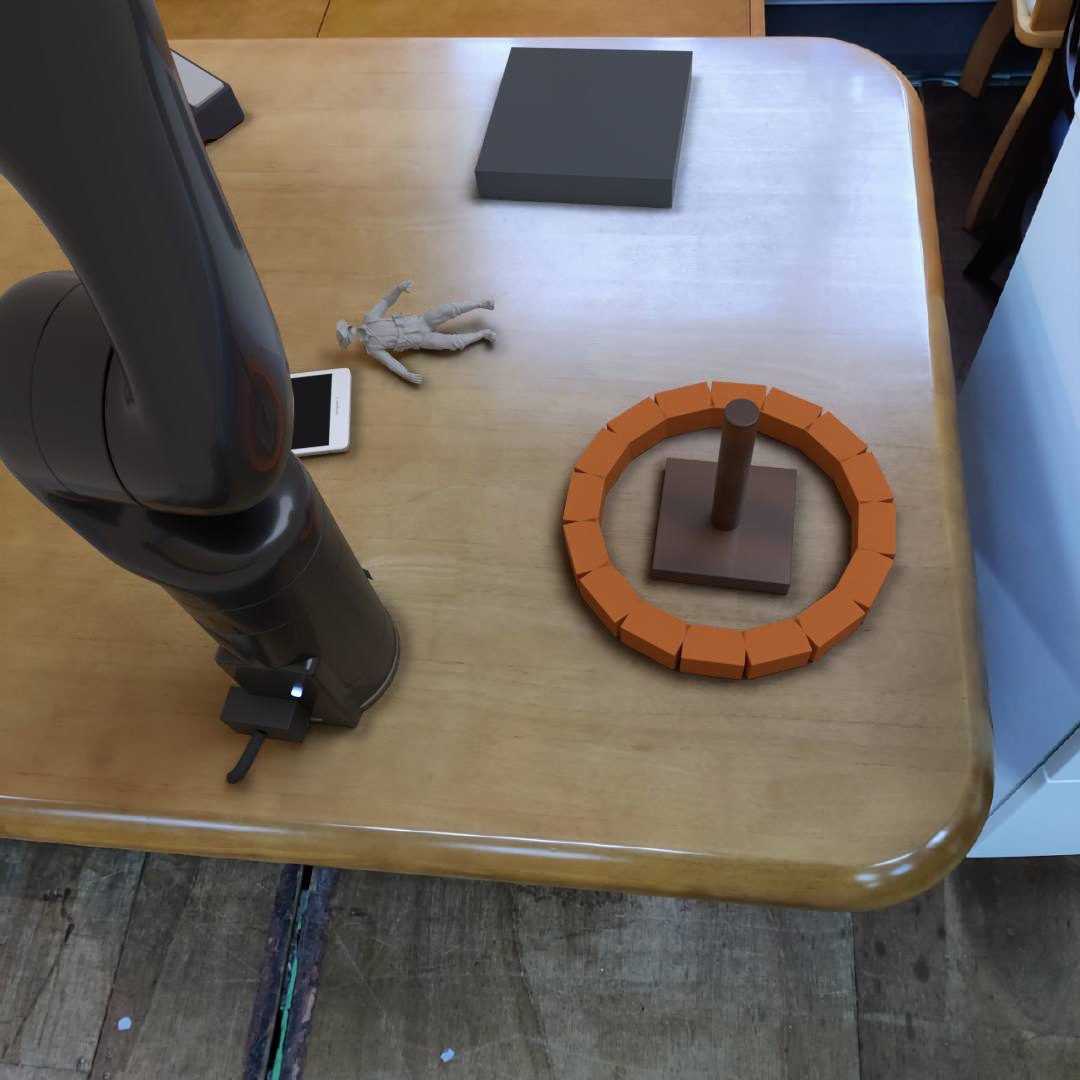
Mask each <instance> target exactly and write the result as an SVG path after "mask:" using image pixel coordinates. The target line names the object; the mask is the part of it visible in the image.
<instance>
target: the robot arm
mask: <svg viewBox="0 0 1080 1080" xmlns="http://www.w3.org/2000/svg"><path fill="white" fill-rule="evenodd" d="M170 48H171V46H170V45H169V41H168V39H167V36H166V33H165V30H164V26H163V23H162V20H161V18H160V14H159V11H158V8H157V5H156V1H155V0H0V175H1V176H2V177H3V178H4V179H5V180H6V181H7V182H8V183H9V184H10V185H11V186H12V187H13V188H14V189H15V190H16V191H17V193H18V194H19V196H21V197H22V199H23V200H24V201H25V202H26V203H27V204H28V205H29V206H30V208H31V209H32V210H33V211H34V212H35V214H36V215H37V216H38V218H39V219H40V221H41V222H42V224H43V225H44V226H45V228H46V229H47V230H48V231H49V233H50V234H51V236H52V237H53V238H54V240H55V241H56V243H57V245H58V246H59V248H60V249H61V251H62V252H63V254H64V256H65V258H66V259H67V261H68V263H69V264H70V265H71V267H72V269H73V270H72V269H68V270H67V269H65V270H62V269H61V270H60V269H59V270H50V271H43V272H39V273H36V274H34V275H30V276H28V277H26V278H23V279H22V280H20V281H18V282H16V283H14V284H12V285H11V286H10V287H9V288H7V289H6V290H5V291H4V292H3V293H2V294H1V295H0V461H1V462H2V463H3V465H4V466H5V468H7V470H8V471H9V472H10V473H11V474H12V476H13V477H14V478H15V479H16V480H17V481H18V482H19V483H20V484H21V485H22V486H23V487H24V488H25V489H26V490H27V491H28V492H29V493H30V494H31V495H32V496H33V497H34V498H36V499H37V500H38V501H39V502H40V503H41V504H43V506H45V507H46V508H47V509H48V510H49V511H50V512H52V513H53V514H54V515H55V516H56V517H57V518H58V519H60V520H61V521H62V522H63V523H65V524H66V525H67V526H68V527H69V528H71V529H72V530H73V531H74V532H75V533H76V534H78V535H79V537H81V538H82V539H84V540H85V541H86V542H87V543H88V544H90V546H92V548H94V549H95V550H97V552H99V553H100V554H101V555H103V556H104V557H105V558H106V559H108V560H109V561H110V562H112V563H113V564H115V565H116V566H119V568H121V569H124V571H127V572H129V573H131V574H134V575H136V576H137V577H140V578H142V579H144V580H147V581H149V582H151V583H154V584H156V585H158V586H160V587H161V588H162V589H163V590H164V591H165V592H166V593H167V594H168V595H169V596H170V597H171V598H172V599H173V600H174V601H175V602H176V603H177V604H178V605H179V606H180V607H181V608H182V609H183V610H184V611H185V612H186V613H187V614H188V615H189V616H190V617H191V618H192V619H193V620H194V621H195V622H196V624H197V625H199V626H200V627H201V628H202V629H203V630H204V631H205V632H206V633H207V634H208V635H209V637H211V638H212V639H213V640H214V641H215V642H216V643H217V644H218V647H217V649H216V652H215V655H214V662H215V664H216V665H217V666H218V667H219V668H221V669H222V671H224V672H225V673H226V674H227V675H228V676H229V677H230V678H231V679H232V680H233V681H234V682H235V683H236V684H237V685H230V686H229V689H228V692H227V694H226V697H225V701H224V704H223V706H222V709H221V713H220V715H219V718H218V720H219V721H221V722H222V724H224V725H225V726H226V727H228V728H229V729H230V730H231V731H232V732H234V733H235V734H236V735H242V736H249V737H250V739H249V741H248V743H247V744H246V746H245V748H244V750H243V752H242V754H241V755H240V757H239V759H238V761H237V763H236V764H235V766H234V767H233V769H232V770H230V771H229V772H228V773H226V777H225V779H226V782H227V783H228V784H229V785H236V784H237V783H239V782H240V781H242V780H243V779H244V778H245V776H246V775H247V774H248V772H249V770H250V769H251V767H252V765H253V764H254V762H255V760H256V758H257V756H258V754H259V752H260V751H261V748H262V746H263V745H264V743H265V740H266V739H268V740H275V741H281V742H288V743H294V744H301V745H303V744H304V742H305V739H306V736H307V732H308V729H309V725H310V723H315V724H329V725H337V726H343V727H350V728H355V727H357V726H358V725H359V723H360V719H361V716H362V714H363V712H364V711H365V710H366V709H368V708H369V707H370V706H372V705H373V704H374V703H375V702H376V701H377V700H378V699H379V698H380V697H381V696H382V695H383V694H384V692H385V691H386V690H387V689H388V687H389V686H390V684H391V683H392V680H393V679H394V677H395V674H396V672H397V670H398V666H399V662H400V656H401V639H400V638H401V637H400V633H399V631H398V628H397V625H396V622H395V621H394V619H393V617H392V615H391V614H390V612H389V611H388V609H387V608H386V607H385V605H383V603H382V601H381V599H380V597H379V595H378V594H377V592H376V590H375V588H374V587H373V585H372V583H371V581H372V582H373V581H374V578H373V576H372V575H371V573H370V571H369V569H368V570H367V569H365V568H363V566H362V565H361V564H360V562H359V560H358V558H357V557H356V554H355V553H354V551H353V549H352V548H351V546H350V544H349V542H348V541H347V538H346V537H345V535H344V534H343V532H342V530H341V527H340V526H339V524H338V523H337V521H336V519H335V517H334V516H333V514H332V511H331V510H330V508H329V506H328V504H327V503H326V501H325V499H324V497H323V496H322V494H321V492H320V491H319V489H318V486H317V484H316V483H315V481H314V479H313V478H312V476H311V474H310V472H309V471H308V469H307V467H306V466H305V464H304V463H303V462H302V461H301V458H300V457H297V456H296V455H295V454H294V453H293V452H292V451H291V445H292V437H293V426H294V398H293V390H292V383H291V376H290V374H291V371H290V364H289V361H288V357H287V353H286V350H285V347H284V343H283V339H282V336H281V332H280V329H279V326H278V323H277V320H276V317H275V315H274V312H273V309H272V307H271V304H270V301H269V300H268V296H267V293H266V291H265V290H264V289H265V288H264V286H263V284H262V282H261V279H260V277H259V274H258V272H257V270H256V269H257V268H256V267H255V264H254V262H253V260H252V258H251V255H250V253H249V250H248V248H247V245H246V243H245V241H244V237H243V236H242V234H241V231H240V229H239V226H238V224H237V221H236V219H235V217H234V214H233V212H232V209H231V207H230V204H229V202H228V200H227V197H226V195H225V193H224V190H223V188H222V186H221V183H220V180H219V178H218V175H217V174H216V171H215V168H214V166H213V164H212V160H211V158H210V156H209V153H208V151H207V149H206V146H205V144H204V143H203V141H202V139H201V136H200V134H199V131H198V128H197V125H196V122H195V120H194V117H193V114H192V111H191V108H190V105H189V102H188V100H187V97H186V94H185V91H184V88H183V85H182V82H181V79H180V76H179V73H178V70H177V68H176V65H175V62H174V59H173V56H172V53H171V50H170Z"/></svg>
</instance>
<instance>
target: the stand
mask: <svg viewBox="0 0 1080 1080" xmlns="http://www.w3.org/2000/svg"><path fill="white" fill-rule="evenodd" d="M693 56H694V51H693V50H667V49H666V50H663V49H662V50H661V49H660V50H659V49H624V48H623V49H617V48H577V47H574V48H571V47H570V48H569V47H530V46H529V47H528V46H526V47H525V46H522V47H521V46H511V47H510V50H509V54H508V57H507V60H506V64H505V67H504V71H503V74H502V77H501V81H500V83H499V88H498V89H497V90H498V91H497V93H496V97H495V100H494V104H493V108H492V111H491V113H490V117H489V121H488V124H487V127H486V131H485V133H484V137H483V140H482V143H481V144H482V145H481V147H480V151H479V154H478V158H477V161H476V164H475V168H474V176H475V181H476V187H477V191H478V192H477V193H478V198H479V199H486V200H502V201H503V200H504V201H522V202H523V201H525V202H526V201H527V202H543V203H544V202H545V203H563V204H564V203H565V204H586V205H605V206H607V205H608V206H625V207H646V208H648V207H649V208H667V209H672V208H673V203H674V195H675V189H676V183H677V182H676V181H677V177H678V170H679V164H680V163H679V162H680V157H681V151H682V144H683V138H684V131H685V125H686V118H687V113H688V112H687V111H688V104H689V98H690V92H691V87H692V78H693V77H692V76H693V58H694V57H693Z"/></svg>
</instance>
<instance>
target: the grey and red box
mask: <svg viewBox="0 0 1080 1080" xmlns="http://www.w3.org/2000/svg"><path fill="white" fill-rule="evenodd" d="M170 50H171V53H172V56H173V59H174V62H175V65H176V68H177V70H178V73H179V76H180V79H181V82H182V85H183V88H184V91H185V94H186V97H187V100H188V102H189V105H190V108H191V111H192V114H193V117H194V120H195V122H196V125H197V128H198V131H199V134H200V136H201V139H202V141H203V144H204V143H205V142H206V141H209V140H218V139H219V138H221V137H223V135H225V134H226V133H227V132H229V131H230V130H231V129H232V128H234V127H235V126H236V125H238V124H239V123H240V122H241V121H243V120H244V119H245V113H244V112H243V109H242V107H241V104H240V103H239V101H238V99H237V96H236V94H235V92H234V90H233V88H232V86H231V84H230V83H228V82H226V81H224V80H223V79H221V78H220V77H218V76H217V75H215V74H213V73H212V72H210V71H209V70H207V69H205V68H203V67H202V66H200V65H198V64H197V63H195V62H194V61H192V60H190V59H189V58H187V57H185V56H184V55H183V54H181V53H179V52H178V51H176V50H175V49H173V48H171V47H170Z"/></svg>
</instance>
